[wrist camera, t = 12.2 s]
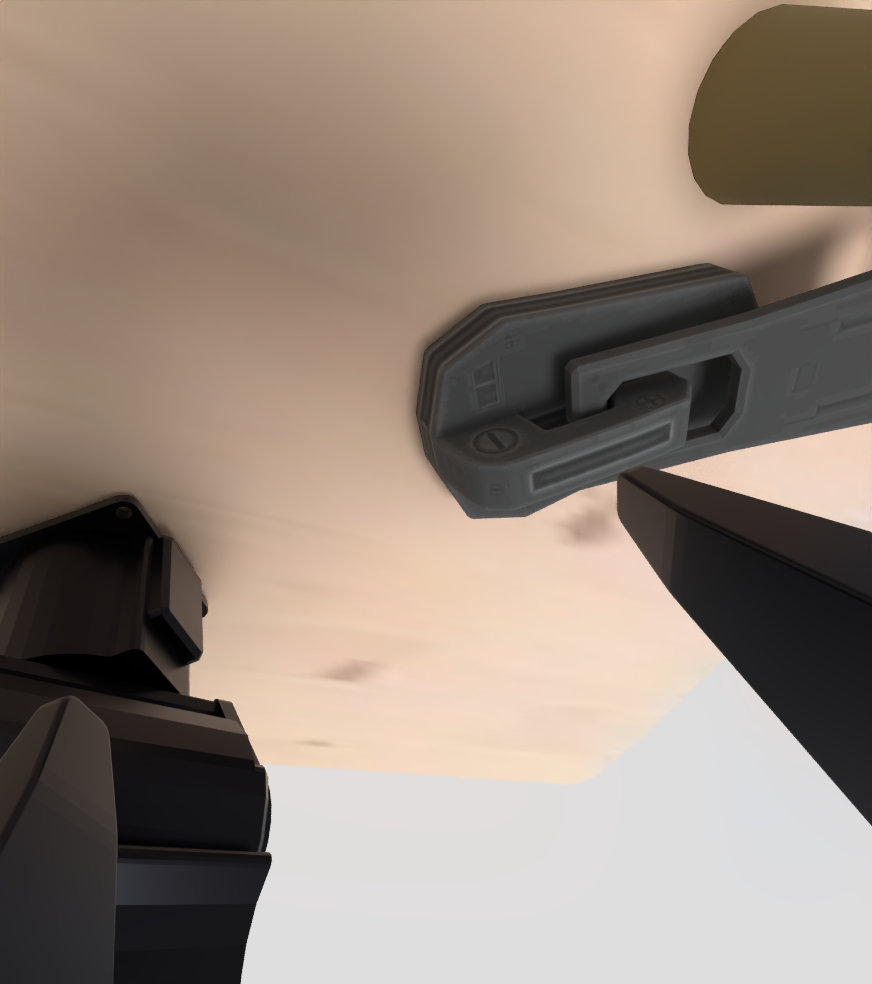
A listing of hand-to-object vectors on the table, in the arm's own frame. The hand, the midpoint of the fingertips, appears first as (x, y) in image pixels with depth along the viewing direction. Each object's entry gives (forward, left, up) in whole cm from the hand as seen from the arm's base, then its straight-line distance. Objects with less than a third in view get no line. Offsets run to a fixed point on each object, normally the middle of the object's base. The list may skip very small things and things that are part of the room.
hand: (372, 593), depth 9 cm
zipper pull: (+16, -6, -13) cm, 22 cm away
